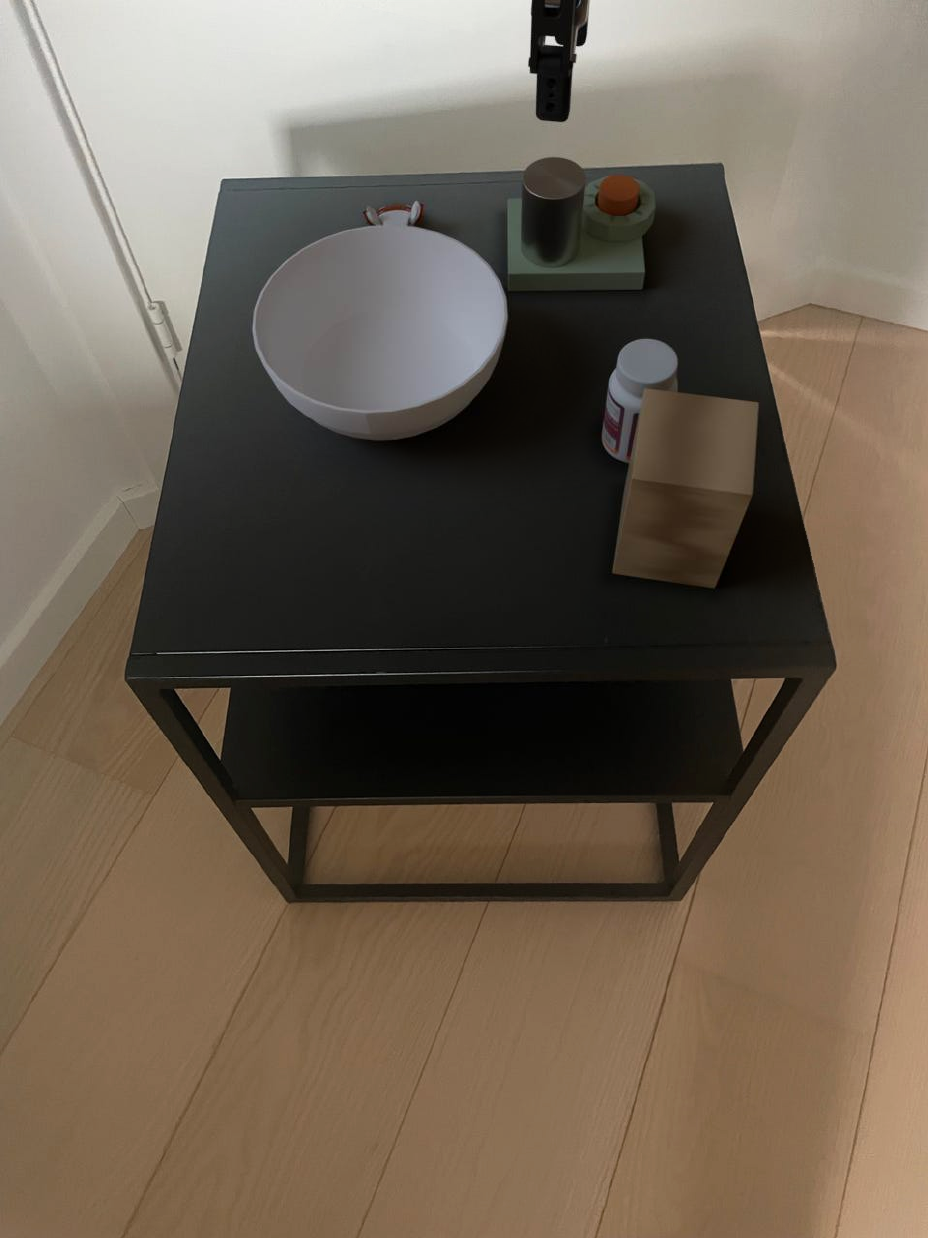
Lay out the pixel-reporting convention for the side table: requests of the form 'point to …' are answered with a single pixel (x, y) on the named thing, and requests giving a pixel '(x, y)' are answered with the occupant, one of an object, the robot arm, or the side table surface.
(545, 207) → the spice tin
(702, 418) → the block
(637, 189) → the button
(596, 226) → the green board with knob
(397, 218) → the toy car
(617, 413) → the pill bottle
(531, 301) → the side table surface
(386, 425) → the bowl
